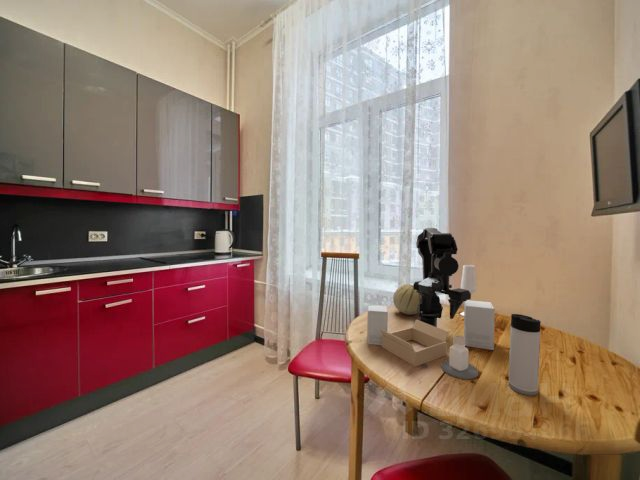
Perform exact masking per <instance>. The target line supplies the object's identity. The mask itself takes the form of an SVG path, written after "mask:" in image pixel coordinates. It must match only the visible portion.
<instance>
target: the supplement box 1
mask: <svg viewBox="0 0 640 480" xmlns="http://www.w3.org/2000/svg"><path fill="white" fill-rule="evenodd" d="M388 312H389V311H388V307H387V306H385V305H368V306H367V326H366V327H367V329H366V331H367V336H366V338H367V341H366V342H367V343H366V344H367V345H376V346H382V335H383V334H382V332H381V331H380V329H382V330H384V331H386V332H388V322H389V320H388V319H389V318H388Z"/></svg>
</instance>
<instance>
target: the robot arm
mask: <svg viewBox="0 0 640 480" xmlns="http://www.w3.org/2000/svg"><path fill="white" fill-rule="evenodd" d="M415 242H416V244H415V246H416V249H417V253H418V255H419V256H420V258H421V261H422V263H421V265H422V280H418V281H417V280H416V281H415V282H414V283H413V284H412V285H413V289H414V290H417V291H416V292H417V293H419V294H420V295H421V298H420V302H419V304H418V308H417V314H416V315H418V318H420V320H419V321H422V322H424V323H427V324H429V325H432V326H435V327H437V325H438V319H441V318H442V316H443V315H442V314H443V306H442V305H443V304H442V303H441V299H440V296H439V295H438V294H437V293H440V294H444V295H448V298H449V299H447V301H448V303H449V319H451V320H453V319H454V318H455V316H456V314H457V312H458V310H459V309H460V307H461V306H462V304H464V302H465V301H467V300H472V299H471V298H472V294H471V293H470V292H469V290H464V289H461V287H460V288H454V289H452V288H453V286H452V284H450V277H452V276H453V275H455V273H457V272H458V270H459V268H460V267H459V263H458V260H457V259H456V258H454V257H453V255H457V253H458V250H459V249H458V246H457V242H456V239H455V237H454V236H453V234H452V233H449V232H448V233H447V232H446V233H445V232H443V233H442V232H441V231H440V230H438V228H437V227H425V228H423V231H422V232H421V233H420V234H418V235H417V238H416V241H415ZM437 328H438V327H437Z"/></svg>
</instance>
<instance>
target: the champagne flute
mask: <svg viewBox="0 0 640 480" xmlns="http://www.w3.org/2000/svg"><path fill="white" fill-rule="evenodd" d="M461 274H462V275H461V282H460V289H464V290H469V292H470V293H471V295H472V294H474V293H475V292H476V291H477V281H476V280H477V279H476V268H475V265H470V264H463V266H462V273H461ZM459 315H461V316H463V317H464V311H462V312H460V313H459Z"/></svg>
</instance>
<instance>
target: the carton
mask: <svg viewBox="0 0 640 480" xmlns="http://www.w3.org/2000/svg"><path fill="white" fill-rule="evenodd" d="M380 331H381V332H382V334H383V335H382V345H381V347H382V349H384V350H385V351H388V352H390V353H391V354H393V355H395V356H397V357H399V358H400V359H402V360H403V361H405V362H406V363H409V364H410V365H412V366H414V367H417V366H420V365H424V364H425V363H428V362H431V361H434V360H436V359H438V358H442V357H445V356H447V343H448V342H447V341H446V340H447V338H448V336H449V332H450V331H448V330H445V329H443V328H439V327H435V326H432V325H429V324H427V323H424V322H422V321H420V320H419V319H415V321H414V324H413V325H412V326H411V327H408V328H404V329H400V330H395V331H392V332H388V331H387V332H386V331H384V330H382V329H380ZM410 340H413V341H415V342H416V343H419V344H420V345H423V346H425V347H423V348H421V349H417V350H415V348H414V347H413V346H412V344H411V343H409V342H408V341H410Z"/></svg>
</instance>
